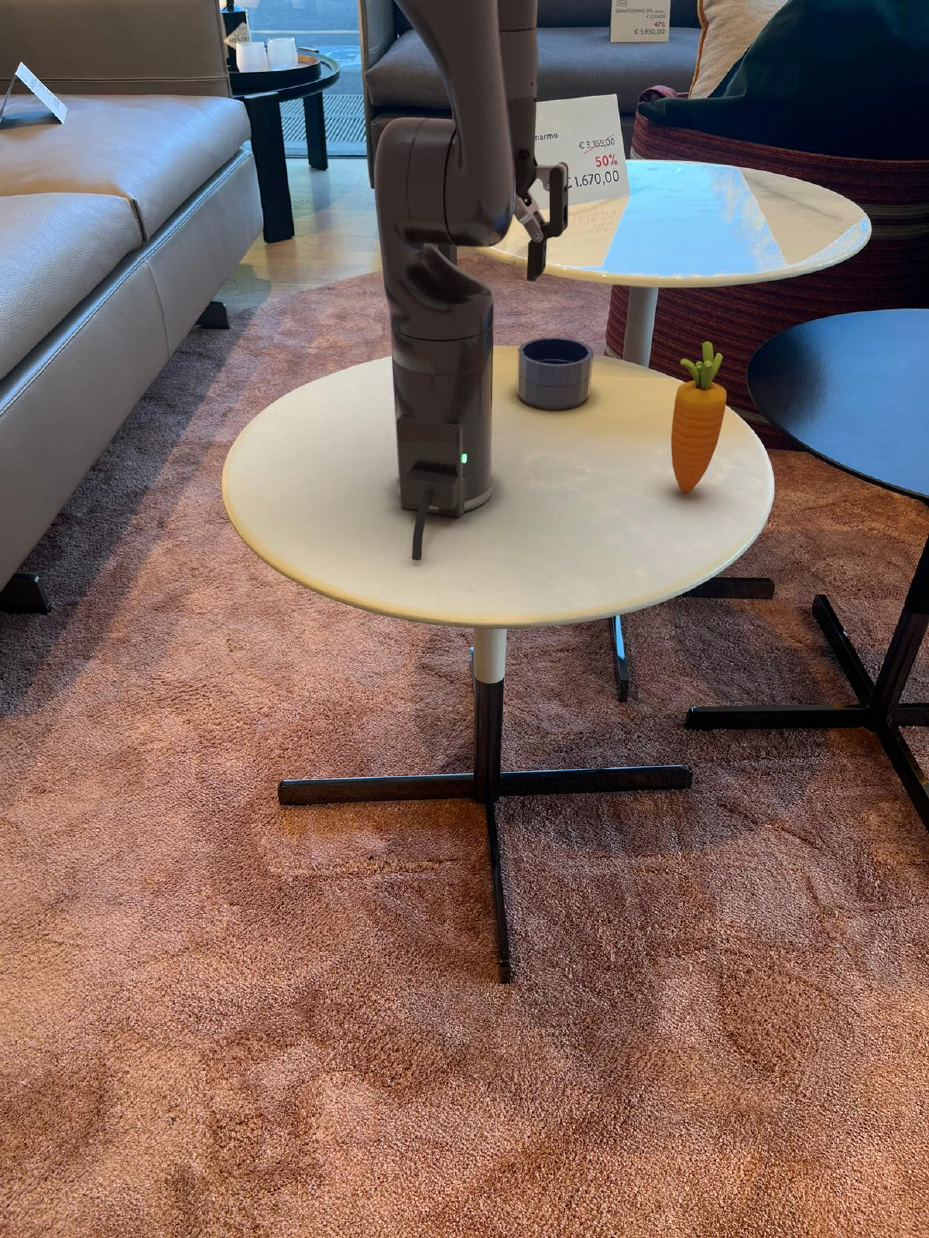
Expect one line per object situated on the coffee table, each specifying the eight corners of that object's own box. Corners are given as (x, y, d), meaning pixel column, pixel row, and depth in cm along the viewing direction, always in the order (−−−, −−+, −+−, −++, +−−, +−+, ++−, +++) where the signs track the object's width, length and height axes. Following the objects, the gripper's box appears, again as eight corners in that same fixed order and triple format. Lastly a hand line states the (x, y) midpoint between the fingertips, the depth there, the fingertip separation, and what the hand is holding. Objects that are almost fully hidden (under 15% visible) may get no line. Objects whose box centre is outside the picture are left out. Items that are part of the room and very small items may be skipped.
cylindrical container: (580, 415, 106) (584, 370, 102) (508, 405, 108) (509, 360, 105) (595, 385, 112) (599, 341, 109) (527, 376, 114) (529, 333, 111)
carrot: (697, 510, 90) (723, 363, 80) (651, 495, 92) (671, 349, 83) (719, 489, 93) (746, 345, 83) (674, 475, 95) (696, 333, 86)
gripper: (403, 90, 80) (410, 279, 90) (563, 99, 77) (552, 295, 87) (432, 78, 86) (436, 257, 96) (582, 85, 82) (570, 270, 92)
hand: (491, 275), depth 91 cm, fingers open, 8 cm apart
